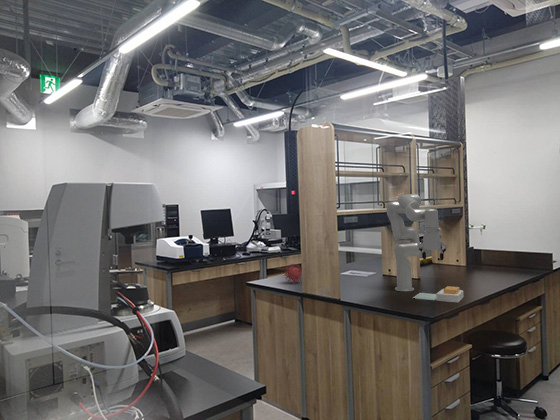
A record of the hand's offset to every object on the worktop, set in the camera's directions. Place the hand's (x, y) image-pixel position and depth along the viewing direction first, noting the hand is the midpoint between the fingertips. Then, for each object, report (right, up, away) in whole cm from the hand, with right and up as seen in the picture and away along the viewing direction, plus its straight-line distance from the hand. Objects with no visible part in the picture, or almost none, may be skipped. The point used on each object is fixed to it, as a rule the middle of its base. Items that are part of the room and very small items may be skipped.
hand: (433, 259), depth 241 cm
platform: (+13, -24, +6) cm, 28 cm away
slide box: (+13, -19, +6) cm, 24 cm away
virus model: (-78, -27, +76) cm, 112 cm away
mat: (+1, -25, +14) cm, 28 cm away
